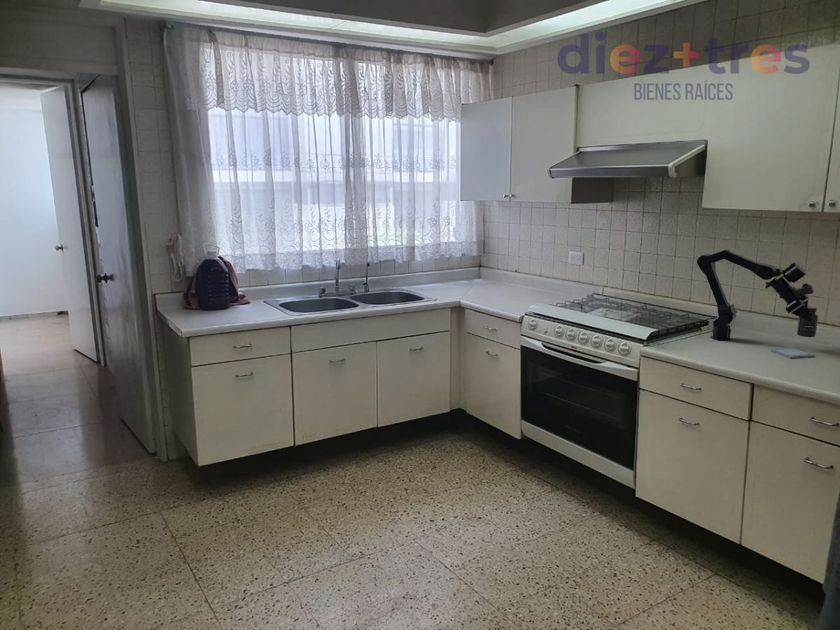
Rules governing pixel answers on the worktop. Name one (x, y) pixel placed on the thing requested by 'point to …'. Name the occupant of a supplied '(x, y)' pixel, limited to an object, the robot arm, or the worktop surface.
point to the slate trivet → (792, 353)
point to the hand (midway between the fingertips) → (812, 319)
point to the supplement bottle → (808, 323)
